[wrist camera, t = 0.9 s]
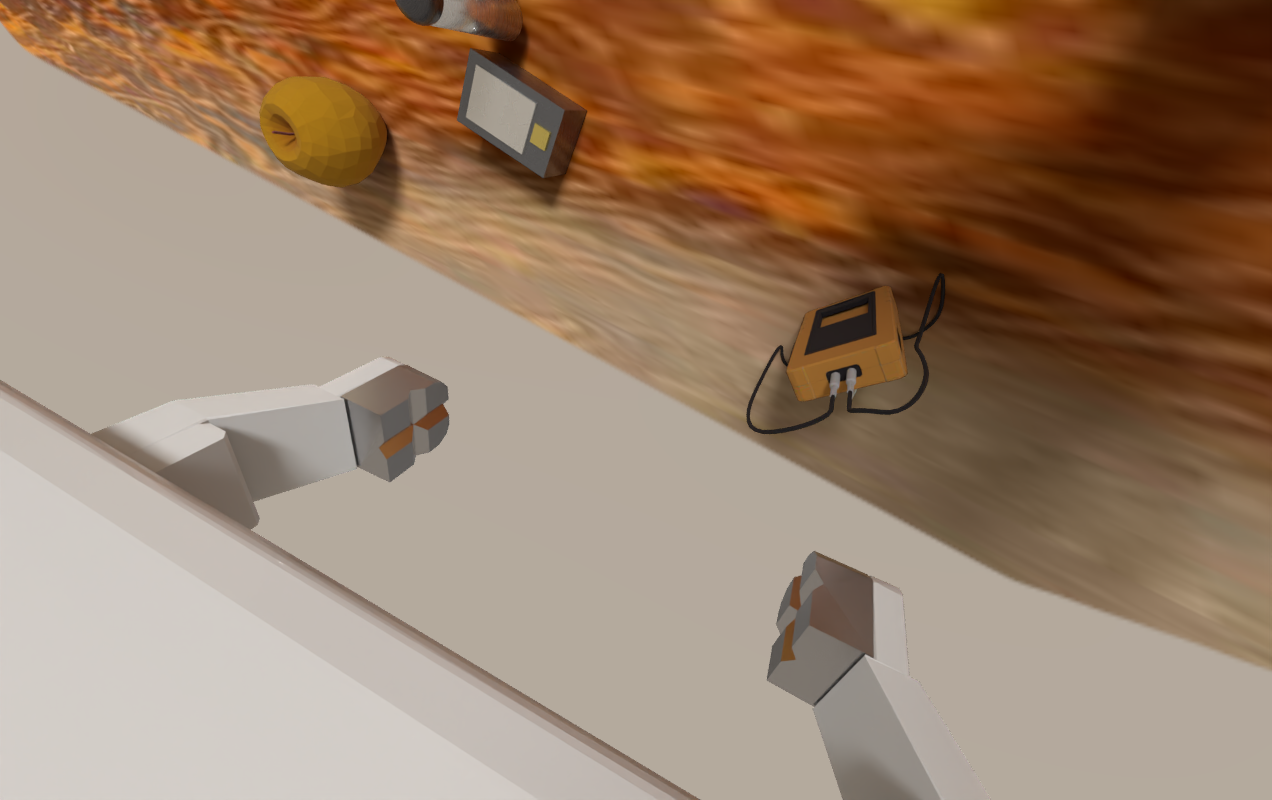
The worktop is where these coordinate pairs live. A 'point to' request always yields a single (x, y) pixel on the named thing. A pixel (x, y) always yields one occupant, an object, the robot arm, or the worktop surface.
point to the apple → (323, 130)
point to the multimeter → (850, 351)
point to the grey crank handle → (467, 16)
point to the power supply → (519, 113)
